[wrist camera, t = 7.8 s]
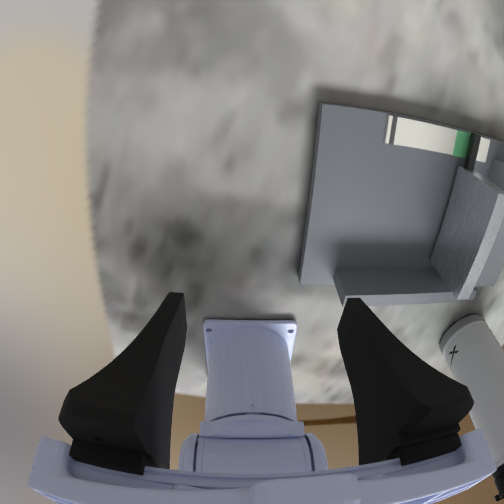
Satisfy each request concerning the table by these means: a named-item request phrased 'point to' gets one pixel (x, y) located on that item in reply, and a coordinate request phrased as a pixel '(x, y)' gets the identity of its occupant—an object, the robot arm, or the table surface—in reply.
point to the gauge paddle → (468, 226)
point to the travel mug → (480, 381)
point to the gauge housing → (387, 204)
